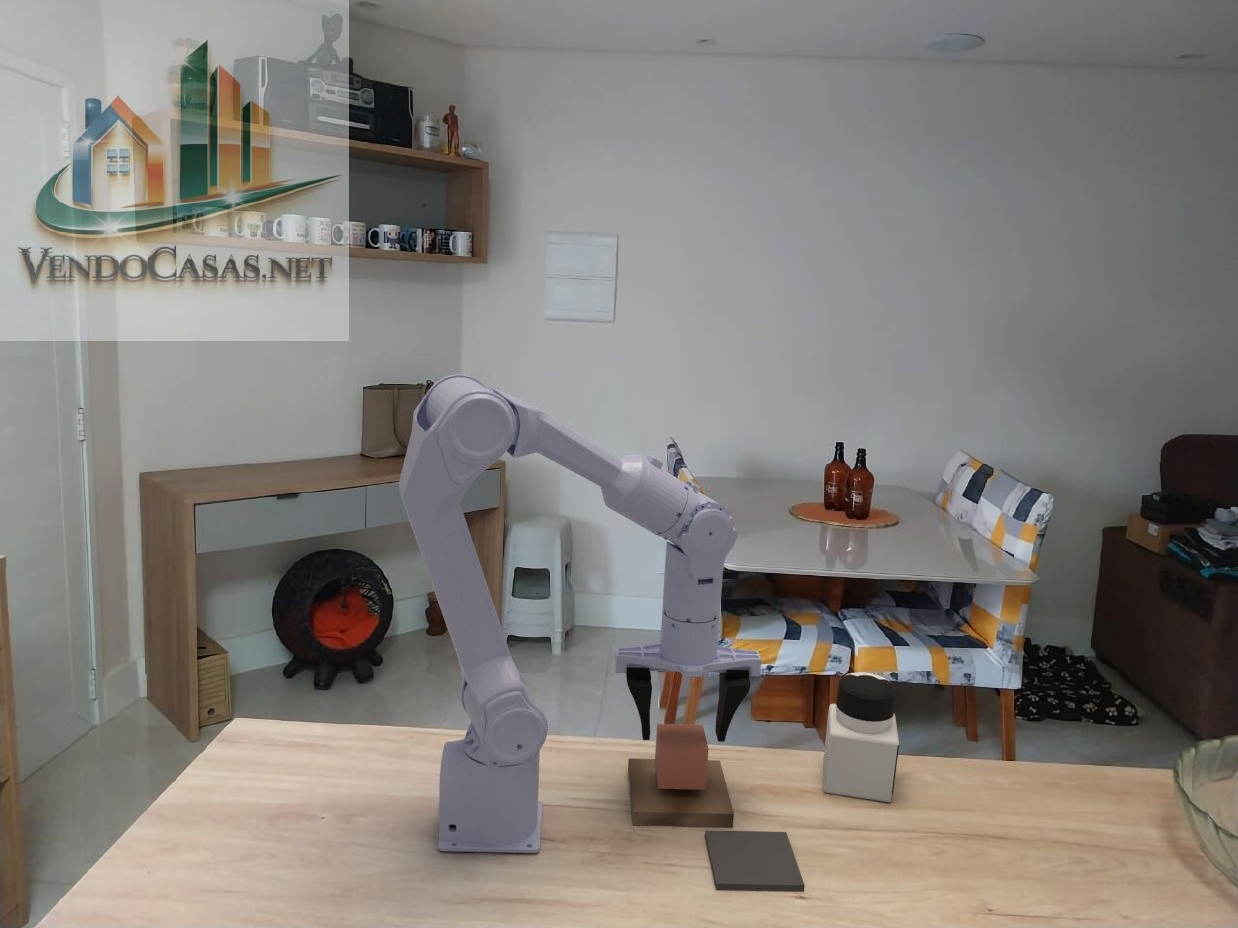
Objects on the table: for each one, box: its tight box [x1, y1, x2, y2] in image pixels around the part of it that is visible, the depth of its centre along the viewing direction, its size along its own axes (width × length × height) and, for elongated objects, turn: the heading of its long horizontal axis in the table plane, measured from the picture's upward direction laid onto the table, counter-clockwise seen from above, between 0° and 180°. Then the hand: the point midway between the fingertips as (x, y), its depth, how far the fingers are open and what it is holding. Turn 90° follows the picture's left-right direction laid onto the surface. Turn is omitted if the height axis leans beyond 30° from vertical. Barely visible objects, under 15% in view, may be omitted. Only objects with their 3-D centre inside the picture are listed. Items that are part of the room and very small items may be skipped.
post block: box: [627, 757, 735, 828], centre depth 100 cm, size 10×10×6 cm
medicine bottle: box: [823, 671, 900, 803], centre depth 105 cm, size 7×7×12 cm
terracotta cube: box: [654, 723, 709, 790], centre depth 100 cm, size 5×5×5 cm
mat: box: [704, 829, 805, 892], centre depth 91 cm, size 8×8×1 cm
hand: (682, 736), depth 100 cm, fingers open, 7 cm apart
